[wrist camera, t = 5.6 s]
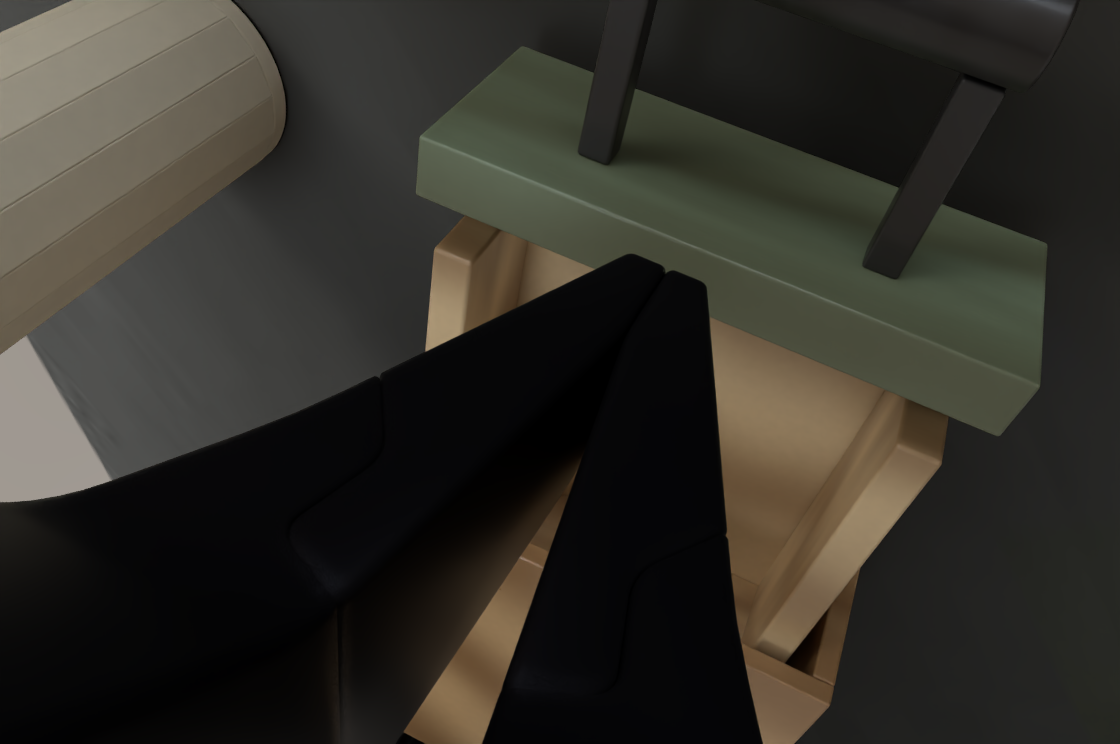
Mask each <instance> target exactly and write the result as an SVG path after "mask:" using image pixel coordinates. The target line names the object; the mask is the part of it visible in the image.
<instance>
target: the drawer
mask: <svg viewBox="0 0 1120 744" xmlns="http://www.w3.org/2000/svg"><path fill="white" fill-rule="evenodd" d="M657 1H658V0H610V1H609V5H608V10H607V15H606V19H605V24H604V29H603V33H602V38H601V43H600V47H599V52H598V57H597V62H596V66H595V71H594V73H593V72H590V71H588V70H585V69H582V68H580V67H577V66H574V65H572V64H569V63H566V62H564V61H561V60H558V59H556V58H553V57H550V56H548V55H545V54H542V53H540V52H537V51H534V50H532V49H529V48H526V47H520V48H519V49H518V50H517V51H516V52H515V53H513V54H512V55H511V56H510V57H509V58H508V59H507V60H506V61H504V62H503V63H502V64H501V65H500V66H499V67H498V68H496V69H495V70H494V71H493V72H492V73H491V74H490V75H489V76H487V77H486V78H485V79H484V80H483V81H482V82H481V83H480V84H478V85H477V86H476V87H475V88H474V89H473V90H472V91H470V92H469V93H468V94H467V95H466V96H465V97H464V98H463V99H461V100H460V101H459V102H458V103H457V104H456V105H455V106H454V107H452V108H451V109H450V110H449V111H448V112H447V113H446V114H445V115H443V116H442V117H441V118H440V119H439V120H438V121H437V122H435V123H434V124H433V125H432V126H431V127H430V128H429V129H428V130H426V131H425V132H424V133H423V134H422V135H421V136H420V139H419V153H418V169H417V185H416V194H417V195H418V196H420V197H422V198H425V199H427V200H430V201H432V202H434V203H437V204H439V205H442V206H444V207H447V208H449V209H451V210H454V211H456V212H459V213H461V214H463V215H465V216H464V217H463V218H462V219H461V220H460V221H459V222H458V223H457V225H456V226H455V227H454V228H453V229H452V230H451V231H450V232H449V233H448V234H447V235H446V236H445V237H444V239H443V240H442V241H441V242H440V243H439V244H438V245H437V246H436V247H435V249H434V258H433V269H432V281H431V292H430V304H429V315H428V327H427V339H426V350H425V352H426V351H428V350H430V349H432V348H434V347H436V346H438V345H440V344H442V343H444V342H446V341H449V340H451V339H453V338H455V337H457V336H459V335H461V334H463V333H465V332H467V331H469V330H471V329H473V328H475V327H477V326H479V325H481V324H484V323H486V322H488V321H490V320H492V319H494V318H496V317H498V316H500V315H502V314H504V313H506V312H508V311H510V310H512V309H514V308H516V307H519V306H521V305H523V304H525V303H527V302H529V301H531V300H533V299H535V298H537V297H539V296H541V295H543V294H545V293H547V292H549V291H551V290H554V289H556V288H558V287H560V286H562V285H564V284H566V283H568V282H570V281H572V280H574V279H576V278H578V277H580V276H582V275H584V274H586V273H589V272H591V271H593V270H595V269H597V268H599V267H601V266H603V265H605V264H607V263H609V262H611V261H613V260H615V259H617V258H619V257H621V256H624V255H626V254H631V253H632V254H636V255H638V256H641V257H643V258H646V259H648V260H651V261H653V262H656V263H658V264H660V265H662V266H663V267H664V268H665V271H666V273H667V272H668V271H672V270H674V271H678V272H680V273H682V274H685V275H687V276H690V277H692V278H695V279H697V280H700V281H702V282H703V283H704V284H705V285H706V287H707V293H708V305H709V317H710V329H711V341H712V353H713V365H714V377H715V389H716V401H717V413H718V425H719V437H720V449H721V461H722V473H723V485H724V497H725V509H726V521H727V534H726V537H727V538H728V540H729V552H730V564H731V575H732V583H733V591H734V599H735V607H736V615H737V624H738V629H739V634H740V639H741V643H743V644H745V645H747V646H749V647H751V648H753V649H755V650H757V651H759V652H761V653H764V654H766V655H768V656H770V657H772V658H774V659H776V660H778V661H780V662H782V663H786V661H787V660H788V659H789V658H790V656H791V655H792V654H793V652H794V651H795V650H796V649H797V647H798V646H799V645H800V644H801V642H802V641H803V640H804V639H805V637H806V636H807V635H808V633H809V632H810V631H811V630H812V628H813V627H814V626H815V625H816V623H817V622H818V621H819V619H820V618H821V617H822V616H823V614H824V613H825V612H826V611H827V609H828V608H829V607H830V606H831V604H832V603H833V602H834V600H835V599H836V598H837V597H838V595H839V594H840V593H841V592H842V590H843V589H844V588H845V586H846V585H847V584H848V583H849V581H850V580H851V579H852V578H853V576H854V575H855V574H856V573H857V571H858V570H859V569H860V567H861V566H862V565H863V564H864V562H865V561H866V560H867V559H868V557H869V556H870V555H871V553H872V552H873V551H874V550H875V548H876V547H877V546H878V545H879V543H880V542H881V541H882V540H883V538H884V537H885V536H886V534H887V533H888V532H889V531H890V529H891V528H892V527H893V526H894V524H895V523H896V522H897V520H898V519H899V518H900V517H901V515H902V514H903V513H904V512H905V510H906V509H907V508H908V507H909V505H910V504H911V503H912V501H913V500H914V499H915V498H916V496H917V495H918V494H919V493H920V491H921V490H922V489H923V487H924V486H925V485H926V484H927V482H928V481H929V480H930V479H931V477H932V476H933V475H934V473H935V472H936V471H937V470H938V468H939V467H940V466H941V465H942V459H943V452H944V446H945V439H946V433H947V426H948V420H949V417H952V418H954V419H956V420H959V421H961V422H964V423H966V424H968V425H971V426H973V427H976V428H978V429H980V430H983V431H985V432H988V433H990V434H992V435H995V436H1000V435H1001V434H1002V433H1003V431H1004V430H1005V429H1006V428H1007V427H1008V425H1009V424H1010V423H1011V422H1012V421H1013V419H1014V418H1015V417H1016V416H1017V415H1018V413H1019V412H1020V411H1021V410H1022V409H1023V407H1024V406H1025V405H1026V404H1027V403H1028V401H1029V400H1030V399H1031V398H1032V397H1033V395H1034V394H1035V393H1036V392H1037V391H1038V389H1039V388H1040V384H1041V364H1042V344H1043V324H1044V304H1045V284H1046V263H1047V244H1046V243H1044V242H1041V241H1039V240H1036V239H1033V238H1031V237H1028V236H1025V235H1023V234H1020V233H1017V232H1015V231H1012V230H1009V229H1007V228H1004V227H1002V226H999V225H996V224H994V223H991V222H988V221H986V220H983V219H980V218H978V217H975V216H972V215H970V214H967V213H964V212H962V211H959V210H956V209H954V208H951V207H948V206H946V205H943V204H942V203H943V201H944V199H945V198H946V196H947V194H948V192H949V191H950V189H951V187H952V186H953V184H954V182H955V180H956V179H957V177H958V175H959V174H960V172H961V170H962V168H963V167H964V165H965V163H966V162H967V160H968V158H969V156H970V155H971V153H972V151H973V150H974V148H975V146H976V145H977V143H978V141H979V139H980V138H981V136H982V134H983V133H984V131H985V129H986V127H987V126H988V124H989V122H990V121H991V119H992V117H993V115H994V114H995V112H996V110H997V109H998V107H999V105H1000V103H1001V102H1002V100H1003V98H1004V97H1005V91H1006V88H1007V89H1010V90H1012V91H1015V92H1018V93H1025V92H1027V91H1028V90H1029V89H1030V88H1031V87H1032V86H1033V85H1034V84H1035V83H1036V81H1037V80H1038V79H1039V77H1040V76H1041V75H1042V73H1043V72H1044V70H1045V69H1046V67H1047V66H1048V64H1049V63H1050V61H1051V59H1052V58H1053V56H1054V54H1055V52H1056V51H1057V49H1058V47H1059V45H1060V44H1061V42H1062V40H1063V38H1064V36H1065V34H1066V32H1067V30H1068V28H1069V26H1070V24H1071V22H1072V19H1073V17H1074V15H1075V12H1076V10H1077V7H1078V4H1079V1H1080V0H756V1H759V2H762V3H765V4H767V5H770V6H773V7H776V8H779V9H782V10H784V11H787V12H790V13H793V14H796V15H799V16H802V17H804V18H807V19H810V20H813V21H816V22H819V23H822V24H824V25H827V26H830V27H833V28H836V29H839V30H841V31H844V32H847V33H850V34H853V35H856V36H859V37H861V38H864V39H867V40H870V41H873V42H876V43H878V44H881V45H884V46H887V47H890V48H893V49H896V50H898V51H901V52H904V53H907V54H910V55H913V56H916V57H918V58H921V59H924V60H927V61H930V62H933V63H935V64H938V65H941V66H944V67H947V68H950V69H953V70H955V71H958V72H960V74H959V76H958V78H957V80H956V82H955V84H954V86H953V87H952V89H951V91H950V93H949V95H948V97H947V99H946V100H945V102H944V104H943V106H942V108H941V110H940V112H939V114H938V115H937V117H936V119H935V121H934V123H933V125H932V127H931V129H930V130H929V132H928V134H927V136H926V138H925V140H924V142H923V144H922V145H921V147H920V149H919V151H918V153H917V155H916V157H915V159H914V160H913V162H912V164H911V166H910V168H909V170H908V172H907V174H906V175H905V177H904V179H903V181H902V183H901V185H900V187H899V188H898V187H895V186H893V185H890V184H887V183H885V182H882V181H879V180H877V179H874V178H871V177H869V176H866V175H864V174H861V173H858V172H856V171H853V170H850V169H848V168H845V167H842V166H840V165H837V164H834V163H832V162H829V161H826V160H824V159H821V158H818V157H816V156H813V155H810V154H808V153H805V152H802V151H800V150H797V149H795V148H792V147H789V146H787V145H784V144H781V143H779V142H776V141H773V140H771V139H768V138H765V137H763V136H760V135H757V134H755V133H752V132H749V131H747V130H744V129H741V128H739V127H736V126H733V125H731V124H728V123H726V122H723V121H720V120H718V119H715V118H712V117H710V116H707V115H704V114H702V113H699V112H696V111H694V110H691V109H688V108H686V107H683V106H680V105H678V104H675V103H672V102H670V101H667V100H664V99H662V98H659V97H657V96H654V95H651V94H649V93H646V92H643V91H641V90H638V89H635V88H636V84H637V80H638V76H639V72H640V68H641V64H642V60H643V56H644V52H645V48H646V44H647V40H648V36H649V32H650V28H651V25H652V21H653V17H654V13H655V9H656V5H657ZM576 473H577V472H576ZM575 476H576V474H575V475H574V477H573V478H572V480H571V481H570V483H569V484H568V486H567V487H566V489H565V490H564V492H563V493H562V495H561V496H560V498H559V499H558V501H557V502H556V504H555V505H554V507H553V508H552V510H551V511H550V513H549V514H548V516H547V517H546V519H545V520H544V522H543V523H542V525H541V526H540V528H539V529H538V531H537V532H536V534H535V535H534V537H533V538H532V540H531V541H530V542H531V543H533V544H535V545H537V546H539V547H541V548H543V549H545V550H547V551H549V550H550V548H551V545H552V542H553V539H554V536H555V533H556V530H557V527H558V525H559V522H560V519H561V516H562V513H563V510H564V507H565V505H566V502H567V499H568V496H569V493H570V490H571V487H572V484H573V482H574V479H575Z"/></svg>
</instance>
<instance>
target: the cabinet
mask: <svg viewBox="0 0 1120 744" xmlns="http://www.w3.org/2000/svg"><path fill="white" fill-rule="evenodd" d="M548 553H549V551H547V550H545V549H543V548H541V547H539V546H537V545H535V544H533V543H531V542H530V543H529V544H528V546H527V547H526V549H525V550H524V552H523V553H522V555H521V556H520V558H519V559H518V561H517V562H516V564H515V565H514V567H513V568H512V570H511V571H510V573H509V574H508V576H507V577H506V579H505V580H504V582H503V583H502V585H501V586H500V588H499V589H498V591H497V592H496V594H495V595H494V597H493V598H492V600H491V601H490V603H489V604H488V606H487V607H486V609H485V610H484V612H483V613H482V615H481V616H480V618H479V619H478V621H477V622H476V624H475V625H474V627H473V628H472V630H471V631H470V633H469V634H468V636H467V637H466V639H465V640H464V642H463V643H462V645H461V646H460V648H459V649H458V651H457V652H456V654H455V655H454V657H453V658H452V660H451V661H450V663H449V664H448V666H447V667H446V669H445V670H444V672H443V673H442V675H441V676H440V678H439V679H438V681H437V682H436V684H435V685H434V687H433V688H432V690H431V691H430V693H429V694H428V696H427V697H426V699H425V700H424V702H423V703H422V705H421V706H420V708H419V709H418V711H417V712H416V714H415V715H414V717H413V718H412V720H411V721H410V723H409V724H408V726H407V727H406V729H405V730H404V733H406V734H408V735H410V736H412V737H414V738H415V739H417V740H419V741H421V742H423V743H425V744H482V742H483V739H484V736H485V733H486V731H487V728H488V725H489V722H490V719H491V717H492V714H493V711H494V708H495V705H496V702H497V699H498V697H499V694H500V693H501V689H502V686H503V682H504V679H505V677H506V674H507V671H508V668H509V665H510V662H511V659H512V656H513V654H514V651H515V648H516V645H517V642H518V639H519V636H520V634H521V631H522V628H523V625H524V622H525V619H526V616H527V613H528V611H529V608H530V605H531V602H532V599H533V596H534V593H535V591H536V588H537V585H538V582H539V579H540V576H541V573H542V570H543V568H544V565H545V562H546V559H547V556H548ZM859 571H860V569H859V570H858V571H857V573H856V574H855V575H854V576H853V578H852V579H851V580H850V581H849V583H848V584H847V585H846V586H845V588H844V589H843V590H842V592H841V593H840V594H839V595H838V597H837V598H836V599H835V600H834V602H833V603H832V604H831V606H830V607H829V608H828V609H827V611H826V612H825V613H824V614H823V616H822V617H821V618H820V619H819V621H818V622H817V623H816V625H815V626H814V627H813V628H812V630H811V631H810V632H809V633H808V635H807V636H806V637H805V639H804V640H803V641H802V642H801V644H800V645H799V646H798V647H797V649H796V650H795V651H794V652H793V654H792V655H791V656H790V658H789V659H788V660H787V661H786V663H782V662H780V661H778V660H776V659H774V658H772V657H770V656H768V655H766V654H764V653H761V652H759V651H757V650H755V649H753V648H751V647H749V646H747V645H745V644H743V643H741V644H742V649H743V654H744V660H745V665H746V670H747V675H748V680H749V685H750V689H751V693H752V698H753V702H754V706H755V711H756V715H757V719H758V724H759V728H760V733H761V737H762V741H763V744H794V743H795V742H796V741H797V740H798V739H799V738H800V737H801V736H802V735H803V734H804V733H805V732H806V731H807V730H808V729H809V728H810V726H811V725H812V724H813V723H814V722H815V721H816V720H817V719H818V718H819V717H820V716H821V715H822V714H823V713H824V712H825V711H826V709H827V708H828V707H829V706H830V704H831V699H832V695H833V690H834V688H833V686H834V685H835V681H836V676H837V672H838V667H839V662H840V658H841V653H842V649H843V644H844V640H845V635H846V630H847V626H848V621H849V617H850V612H851V607H852V603H853V598H854V594H855V589H856V585H857V580H858V575H859Z"/></svg>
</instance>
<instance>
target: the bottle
mask: <svg viewBox="0 0 1120 744" xmlns="http://www.w3.org/2000/svg"><path fill="white" fill-rule="evenodd" d="M285 119H286V102H285V93H284V89H283V85H282V80H281V77H280V74H279V72H278V69H277V66H276V64H275V61H274V59H273V57H272V55H271V53H270V51H269V49H268V47H267V45H266V44H265V42H264V40H263V39H262V37H261V36H260V34H259V33H258V31H257V30H256V28H255V27H254V25H253V24H252V23H251V22H250V20H249V19H248V18H247V17H246V15H245V14H244V13H243V12H242V11H241V10H240V9H239V8H238V7H237V6H236V5H235V4H234V3H233V2H232V1H231V0H72V1H70V2H68V3H65V4H63V5H61V6H59V7H56V8H54V9H52V10H50V11H48V12H45V13H43V14H41V15H39V16H36V17H34V18H32V19H30V20H27V21H25V22H23V23H21V24H18V25H16V26H14V27H12V28H9V29H7V30H5V31H3V32H0V354H2V353H3V352H4V351H5V350H7V349H8V348H10V347H11V346H12V345H14V344H15V343H16V342H18V341H19V340H20V339H22V338H23V337H25V336H26V335H27V334H29V333H30V332H31V331H33V330H34V329H35V328H37V327H38V326H39V325H41V324H42V323H43V322H45V321H46V320H47V319H49V318H50V317H51V316H53V315H54V314H55V313H57V312H58V311H59V310H61V309H62V308H64V307H65V306H66V305H68V304H69V303H70V302H72V301H73V300H74V299H76V298H77V297H78V296H80V295H81V294H82V293H84V292H85V291H86V290H88V289H89V288H90V287H92V286H93V285H94V284H96V283H97V282H98V281H100V280H101V279H103V278H104V277H105V276H107V275H108V274H109V273H111V272H112V271H113V270H115V269H116V268H117V267H119V266H120V265H121V264H123V263H124V262H125V261H127V260H128V259H129V258H131V257H132V256H133V255H135V254H136V253H137V252H139V251H140V250H142V249H143V248H144V247H146V246H147V245H148V244H150V243H151V242H152V241H154V240H155V239H156V238H158V237H159V236H160V235H162V234H163V233H164V232H166V231H167V230H168V229H170V228H171V227H172V226H174V225H175V224H176V223H178V222H179V221H181V220H182V219H183V218H185V217H186V216H187V215H189V214H190V213H191V212H193V211H194V210H195V209H197V208H198V207H199V206H201V205H202V204H203V203H205V202H206V201H207V200H209V199H210V198H211V197H213V196H214V195H215V194H217V193H218V192H219V191H221V190H222V189H224V188H225V187H226V186H228V185H229V184H230V183H232V182H233V181H234V180H236V179H237V178H238V177H240V176H241V175H242V174H244V173H245V172H246V171H248V170H249V169H250V168H252V167H253V166H254V165H256V164H257V163H258V162H260V161H261V160H263V158H264V157H265V156H266V155H268V154H269V153H270V152H271V151H272V150H273V149H274V148H275V147H276V145H277V144H278V142H279V140H280V138H281V136H282V133H283V130H284V126H285Z"/></svg>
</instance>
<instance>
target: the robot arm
mask: <svg viewBox="0 0 1120 744" xmlns="http://www.w3.org/2000/svg"><path fill="white" fill-rule="evenodd" d="M576 472H577V473H576ZM575 474H576V476H575V479H574V482H573V484H572V487H571V490H570V493H569V496H568V499H567V502H566V505H565V507H564V510H563V513H562V516H561V519H560V522H559V525H558V527H557V530H556V533H555V536H554V539H553V542H552V545H551V548H550V550H549V553H548V556H547V559H546V562H545V565H544V568H543V570H542V573H541V576H540V579H539V582H538V585H537V588H536V591H535V593H534V596H533V599H532V602H531V605H530V608H529V611H528V613H527V616H526V619H525V622H524V625H523V628H522V631H521V634H520V636H519V639H518V642H517V645H516V648H515V651H514V654H513V656H512V659H511V662H510V665H509V668H508V671H507V674H506V677H505V679H504V682H503V686H502V689H501V693H500V694H499V697H498V699H497V702H496V705H495V708H494V711H493V714H492V717H491V719H490V722H489V725H488V728H487V731H486V733H485V736H484V739H483V742H482V744H763V741H762V737H761V733H760V728H759V724H758V719H757V715H756V711H755V706H754V702H753V698H752V693H751V689H750V685H749V680H748V675H747V670H746V665H745V660H744V654H743V649H742V644H741V639H740V634H739V629H738V624H737V615H736V607H735V599H734V591H733V583H732V575H731V564H730V552H729V540H728V538H727V537H726V534H727V521H726V509H725V497H724V485H723V473H722V461H721V449H720V437H719V425H718V413H717V401H716V389H715V377H714V365H713V353H712V341H711V329H710V317H709V305H708V293H707V287H706V285H705V284H704V283H703V282H702V281H700V280H697V279H695V278H692V277H690V276H687V275H685V274H682V273H680V272H678V271H674V270H672V271H668V272H667V273H666V271H665V268H664V267H663V266H662V265H660V264H658V263H656V262H653V261H651V260H648V259H646V258H643V257H641V256H638V255H636V254H632V253H631V254H626V255H624V256H621V257H619V258H617V259H615V260H613V261H611V262H609V263H607V264H605V265H603V266H601V267H599V268H597V269H595V270H593V271H591V272H589V273H586V274H584V275H582V276H580V277H578V278H576V279H574V280H572V281H570V282H568V283H566V284H564V285H562V286H560V287H558V288H556V289H554V290H551V291H549V292H547V293H545V294H543V295H541V296H539V297H537V298H535V299H533V300H531V301H529V302H527V303H525V304H523V305H521V306H519V307H516V308H514V309H512V310H510V311H508V312H506V313H504V314H502V315H500V316H498V317H496V318H494V319H492V320H490V321H488V322H486V323H484V324H481V325H479V326H477V327H475V328H473V329H471V330H469V331H467V332H465V333H463V334H461V335H459V336H457V337H455V338H453V339H451V340H449V341H446V342H444V343H442V344H440V345H438V346H436V347H434V348H432V349H430V350H428V351H426V352H424V353H422V354H420V355H418V356H416V357H413V358H411V359H409V360H407V361H405V362H403V363H401V364H399V365H397V366H395V367H393V368H391V369H389V370H387V371H385V372H383V373H382V374H381V375H380V379H379V378H378V377H376V376H374V377H372V378H370V379H367V380H365V381H363V382H361V383H359V384H357V385H355V386H353V387H351V388H349V389H347V390H345V391H343V392H340V393H338V394H336V395H334V396H332V397H329V398H327V399H325V400H323V401H320V402H318V403H316V404H314V405H312V406H309V407H307V408H305V409H303V410H300V411H298V412H296V413H294V414H291V415H288V416H286V417H283V418H281V419H278V420H276V421H273V422H270V423H268V424H265V425H263V426H260V427H258V428H255V429H252V430H250V431H247V432H245V433H242V434H239V435H237V436H234V437H231V438H228V439H226V440H223V441H220V442H217V443H215V444H212V445H209V446H206V447H203V448H201V449H198V450H195V451H192V452H190V453H187V454H184V455H181V456H179V457H176V458H173V459H170V460H167V461H165V462H162V463H159V464H156V465H154V466H151V467H148V468H145V469H143V470H140V471H137V472H134V473H131V474H129V475H126V476H123V477H120V478H118V479H115V480H112V481H109V482H106V483H103V484H100V485H97V486H94V487H91V488H88V489H85V490H81V491H77V492H73V493H69V494H65V495H61V496H57V497H50V498H45V499H38V500H32V501H20V502H0V744H425V743H423V742H421V741H419V740H417V739H415V738H414V737H412V736H410V735H408V734H406V733H404V730H405V729H406V727H407V726H408V724H409V723H410V721H411V720H412V718H413V717H414V715H415V714H416V712H417V711H418V709H419V708H420V706H421V705H422V703H423V702H424V700H425V699H426V697H427V696H428V694H429V693H430V691H431V690H432V688H433V687H434V685H435V684H436V682H437V681H438V679H439V678H440V676H441V675H442V673H443V672H444V670H445V669H446V667H447V666H448V664H449V663H450V661H451V660H452V658H453V657H454V655H455V654H456V652H457V651H458V649H459V648H460V646H461V645H462V643H463V642H464V640H465V639H466V637H467V636H468V634H469V633H470V631H471V630H472V628H473V627H474V625H475V624H476V622H477V621H478V619H479V618H480V616H481V615H482V613H483V612H484V610H485V609H486V607H487V606H488V604H489V603H490V601H491V600H492V598H493V597H494V595H495V594H496V592H497V591H498V589H499V588H500V586H501V585H502V583H503V582H504V580H505V579H506V577H507V576H508V574H509V573H510V571H511V570H512V568H513V567H514V565H515V564H516V562H517V561H518V559H519V558H520V556H521V555H522V553H523V552H524V550H525V549H526V547H527V546H528V544H529V543H530V541H531V540H532V538H533V537H534V535H535V534H536V532H537V531H538V529H539V528H540V526H541V525H542V523H543V522H544V520H545V519H546V517H547V516H548V514H549V513H550V511H551V510H552V508H553V507H554V505H555V504H556V502H557V501H558V499H559V498H560V496H561V495H562V493H563V492H564V490H565V489H566V487H567V486H568V484H569V483H570V481H571V480H572V478H573V477H574V475H575Z"/></svg>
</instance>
